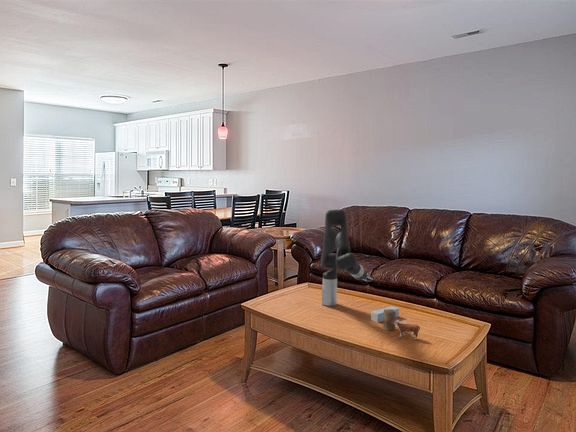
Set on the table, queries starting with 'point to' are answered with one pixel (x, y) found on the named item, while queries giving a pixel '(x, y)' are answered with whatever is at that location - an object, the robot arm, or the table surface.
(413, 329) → the bull figurine
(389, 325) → the walnut block
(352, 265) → the robot arm
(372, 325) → the table surface
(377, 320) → the bluegrey block
